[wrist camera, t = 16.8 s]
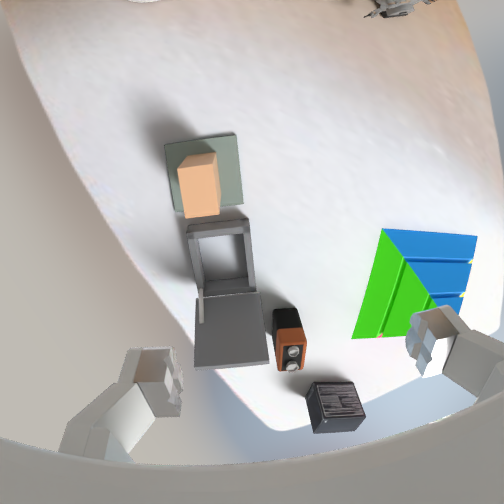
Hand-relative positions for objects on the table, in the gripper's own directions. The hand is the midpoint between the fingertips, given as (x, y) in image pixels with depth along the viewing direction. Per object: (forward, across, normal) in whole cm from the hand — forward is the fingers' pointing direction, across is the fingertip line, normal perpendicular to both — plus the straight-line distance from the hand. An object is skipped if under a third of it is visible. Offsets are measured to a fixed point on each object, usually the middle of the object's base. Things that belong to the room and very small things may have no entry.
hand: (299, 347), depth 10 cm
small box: (+37, -14, +53) cm, 66 cm away
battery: (+37, -4, +30) cm, 48 cm away
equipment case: (+37, +5, +17) cm, 41 cm away
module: (+36, +6, +2) cm, 37 cm away
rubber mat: (+37, +6, +2) cm, 38 cm away
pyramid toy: (+38, -31, +27) cm, 56 cm away
